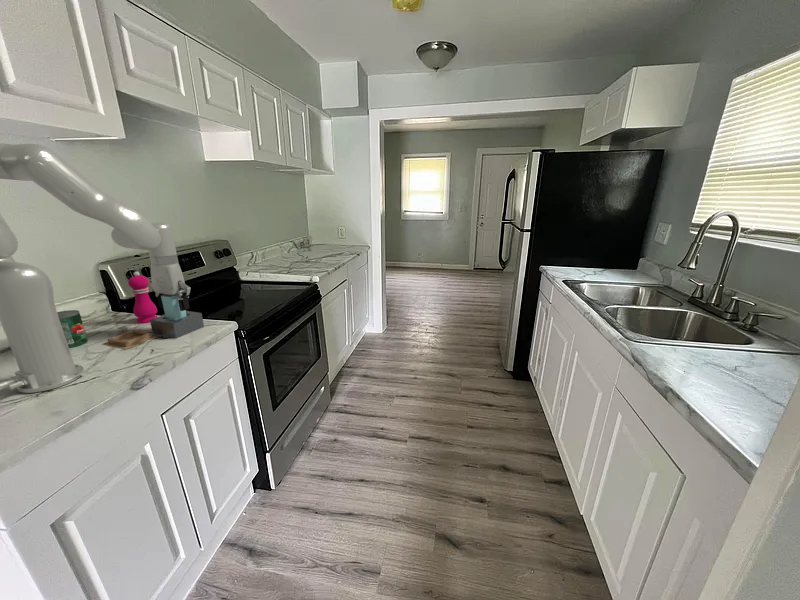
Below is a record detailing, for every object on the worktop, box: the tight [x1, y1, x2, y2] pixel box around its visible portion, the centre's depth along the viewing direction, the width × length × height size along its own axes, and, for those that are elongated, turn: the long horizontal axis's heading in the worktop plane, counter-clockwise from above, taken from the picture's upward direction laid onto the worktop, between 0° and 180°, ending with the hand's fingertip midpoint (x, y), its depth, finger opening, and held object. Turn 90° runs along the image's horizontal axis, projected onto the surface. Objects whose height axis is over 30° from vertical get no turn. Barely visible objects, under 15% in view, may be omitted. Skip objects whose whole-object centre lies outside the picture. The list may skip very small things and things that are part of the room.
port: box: [149, 310, 205, 339], centre depth 117 cm, size 11×11×6 cm
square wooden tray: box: [101, 329, 159, 350], centre depth 109 cm, size 11×11×2 cm
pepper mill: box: [127, 271, 158, 325], centre depth 123 cm, size 7×7×20 cm
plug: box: [161, 293, 187, 321], centre depth 115 cm, size 4×4×11 cm
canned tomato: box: [57, 309, 89, 349], centre depth 104 cm, size 8×8×11 cm
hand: (174, 308), depth 115 cm, fingers open, 9 cm apart
